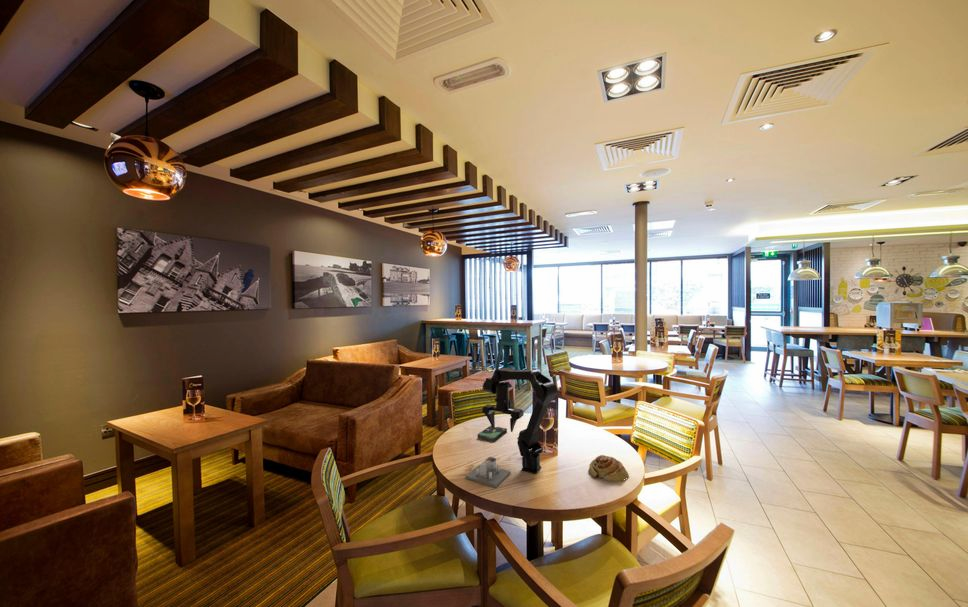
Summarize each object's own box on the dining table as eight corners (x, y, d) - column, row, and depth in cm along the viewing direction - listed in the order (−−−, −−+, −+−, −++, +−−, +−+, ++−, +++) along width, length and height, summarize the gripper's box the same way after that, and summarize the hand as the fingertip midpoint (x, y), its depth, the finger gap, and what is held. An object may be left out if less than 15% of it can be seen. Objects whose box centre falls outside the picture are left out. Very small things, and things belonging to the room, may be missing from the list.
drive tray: (510, 473, 140) (510, 465, 140) (496, 487, 130) (496, 478, 130) (481, 465, 147) (481, 457, 147) (465, 478, 137) (465, 469, 137)
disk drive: (490, 430, 190) (477, 439, 177) (490, 425, 190) (477, 434, 177) (507, 433, 185) (494, 443, 172) (507, 428, 185) (494, 437, 172)
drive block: (496, 470, 141) (496, 458, 141) (486, 479, 134) (486, 466, 134) (489, 468, 142) (489, 456, 142) (479, 477, 136) (479, 464, 136)
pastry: (582, 471, 142) (582, 451, 142) (609, 463, 148) (609, 445, 148) (605, 486, 130) (605, 465, 130) (634, 477, 136) (634, 457, 136)
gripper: (527, 394, 158) (528, 427, 158) (492, 389, 167) (492, 421, 167) (518, 400, 149) (518, 436, 149) (481, 395, 158) (481, 428, 158)
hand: (502, 429), depth 156 cm, fingers open, 9 cm apart
